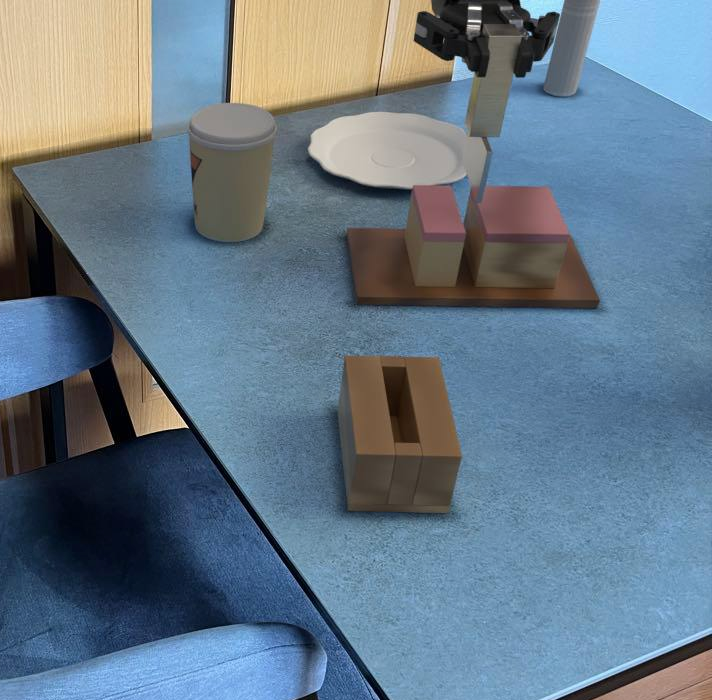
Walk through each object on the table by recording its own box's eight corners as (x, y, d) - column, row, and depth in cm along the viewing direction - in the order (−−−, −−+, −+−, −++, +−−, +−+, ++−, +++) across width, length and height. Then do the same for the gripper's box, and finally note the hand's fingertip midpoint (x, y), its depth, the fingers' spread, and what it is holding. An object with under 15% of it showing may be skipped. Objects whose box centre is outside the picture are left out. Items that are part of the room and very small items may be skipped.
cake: (566, 238, 113) (583, 177, 108) (597, 308, 103) (617, 245, 98) (346, 236, 114) (353, 175, 109) (356, 304, 104) (364, 241, 99)
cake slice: (441, 237, 111) (451, 185, 107) (454, 287, 104) (466, 232, 100) (404, 237, 112) (412, 184, 107) (415, 286, 105) (424, 232, 100)
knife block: (427, 413, 92) (439, 356, 87) (448, 513, 82) (462, 456, 78) (337, 411, 92) (344, 355, 88) (347, 511, 83) (356, 453, 78)
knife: (478, 160, 104) (509, 11, 94) (493, 203, 97) (529, 49, 87) (450, 160, 104) (478, 11, 94) (463, 203, 97) (495, 49, 87)
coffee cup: (201, 201, 120) (202, 97, 112) (279, 212, 118) (286, 106, 110) (177, 239, 114) (176, 132, 105) (259, 251, 112) (264, 143, 103)
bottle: (582, 92, 141) (626, -72, 127) (558, 99, 139) (600, -67, 125) (559, 82, 144) (600, -81, 129) (536, 88, 142) (574, -76, 128)
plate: (481, 206, 118) (484, 192, 117) (300, 193, 121) (301, 179, 120) (476, 129, 133) (479, 116, 132) (314, 119, 136) (315, 107, 135)
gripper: (406, -44, 100) (430, 20, 87) (553, -44, 99) (597, 21, 87) (395, 38, 105) (416, 109, 93) (534, 38, 104) (574, 110, 92)
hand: (504, 66), depth 90 cm, fingers closed on knife, 3 cm apart
